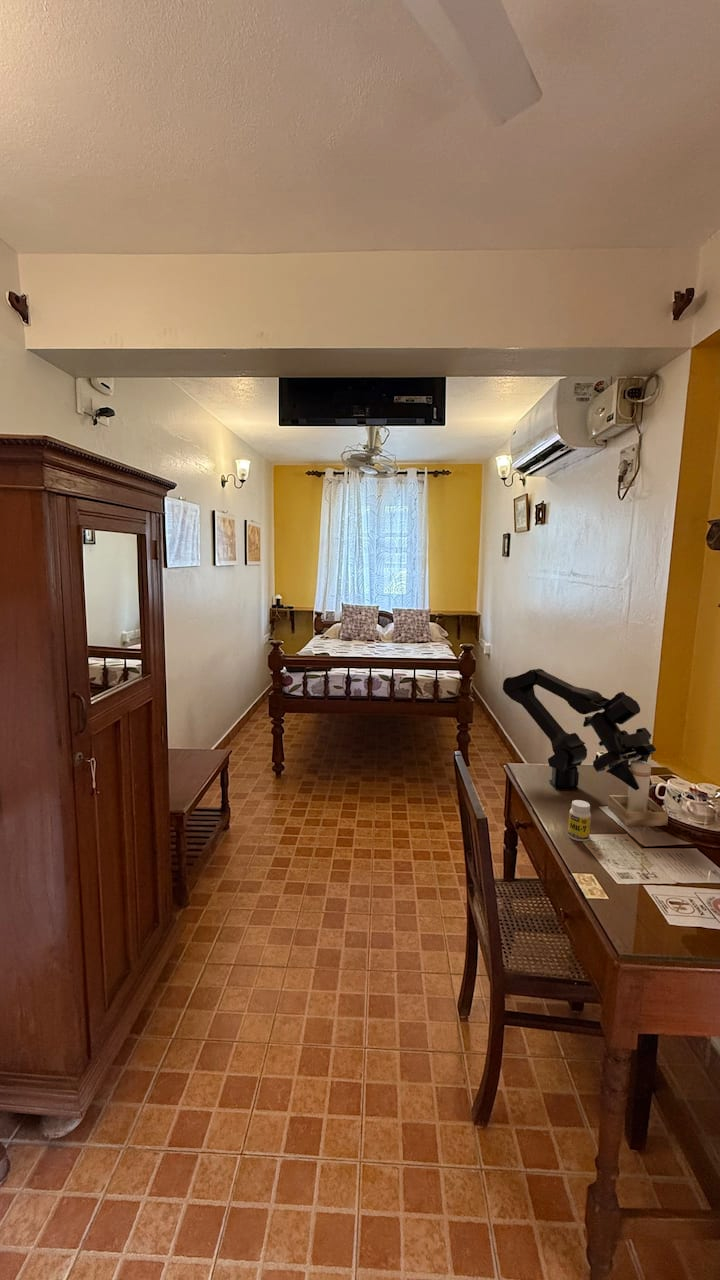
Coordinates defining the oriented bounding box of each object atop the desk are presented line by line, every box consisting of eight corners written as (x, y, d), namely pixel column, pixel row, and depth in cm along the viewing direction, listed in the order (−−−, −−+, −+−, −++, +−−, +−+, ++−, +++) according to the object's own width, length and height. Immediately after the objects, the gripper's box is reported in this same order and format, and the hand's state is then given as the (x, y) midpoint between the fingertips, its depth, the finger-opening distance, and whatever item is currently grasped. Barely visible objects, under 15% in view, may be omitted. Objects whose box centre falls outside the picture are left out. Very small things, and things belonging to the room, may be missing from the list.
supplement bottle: (566, 838, 129) (568, 805, 128) (569, 830, 133) (571, 797, 132) (588, 843, 127) (590, 809, 126) (590, 835, 131) (592, 801, 130)
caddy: (625, 826, 136) (626, 812, 135) (607, 807, 146) (608, 795, 145) (667, 826, 136) (668, 813, 135) (646, 808, 146) (647, 796, 145)
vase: (634, 816, 138) (638, 767, 136) (622, 808, 143) (626, 760, 141) (650, 815, 139) (655, 766, 137) (638, 807, 143) (643, 760, 141)
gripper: (606, 722, 136) (644, 780, 128) (652, 713, 145) (690, 767, 137) (578, 743, 144) (611, 799, 136) (623, 733, 153) (657, 785, 145)
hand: (644, 787), depth 138 cm, fingers open, 5 cm apart
